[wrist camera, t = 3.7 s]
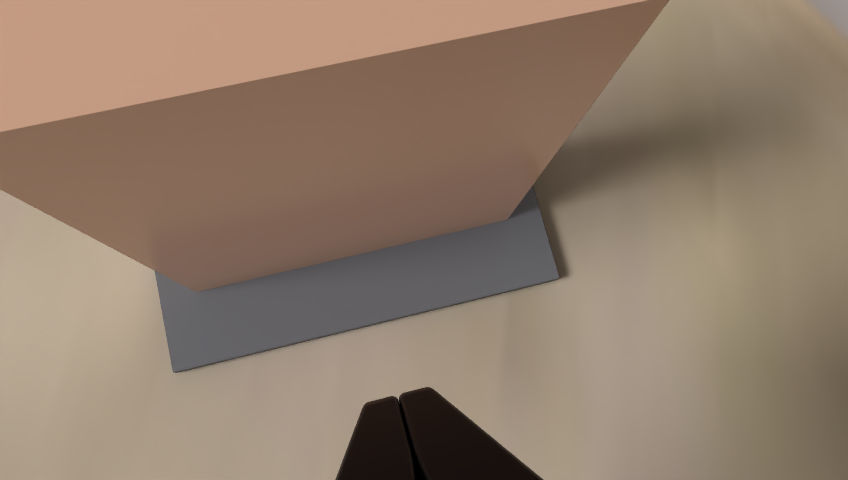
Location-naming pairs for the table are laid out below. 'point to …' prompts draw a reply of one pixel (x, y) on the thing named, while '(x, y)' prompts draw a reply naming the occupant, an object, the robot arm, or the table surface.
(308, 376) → the table surface
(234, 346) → the mat
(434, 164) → the tile
